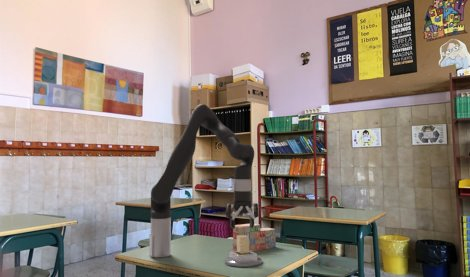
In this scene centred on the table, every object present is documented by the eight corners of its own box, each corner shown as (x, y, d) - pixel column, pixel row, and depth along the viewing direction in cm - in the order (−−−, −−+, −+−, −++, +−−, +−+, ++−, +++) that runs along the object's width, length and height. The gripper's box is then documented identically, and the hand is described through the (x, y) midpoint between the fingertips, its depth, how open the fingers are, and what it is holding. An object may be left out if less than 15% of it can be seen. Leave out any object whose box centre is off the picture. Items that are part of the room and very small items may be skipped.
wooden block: (240, 261, 155) (240, 237, 156) (236, 259, 159) (236, 235, 159) (249, 260, 156) (248, 236, 157) (245, 258, 160) (245, 235, 161)
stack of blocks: (268, 245, 191) (268, 221, 192) (275, 247, 186) (275, 223, 187) (232, 250, 181) (232, 224, 182) (239, 252, 175) (238, 226, 176)
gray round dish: (232, 269, 147) (232, 258, 147) (219, 259, 162) (219, 250, 162) (268, 264, 153) (268, 255, 153) (252, 256, 168) (252, 247, 168)
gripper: (230, 190, 153) (229, 230, 152) (261, 190, 158) (261, 228, 157) (224, 189, 160) (223, 227, 159) (253, 189, 165) (253, 225, 164)
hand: (242, 228), depth 158 cm, fingers open, 8 cm apart
